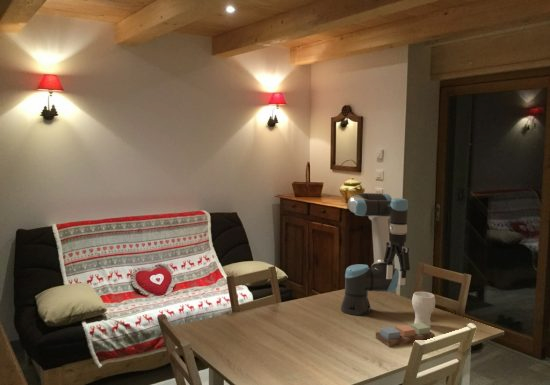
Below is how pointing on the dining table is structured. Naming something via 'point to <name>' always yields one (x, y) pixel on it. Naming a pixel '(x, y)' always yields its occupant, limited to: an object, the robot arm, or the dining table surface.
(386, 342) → the button board
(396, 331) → the cap slate
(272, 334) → the dining table surface
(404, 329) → the cap terracotta
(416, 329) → the cap sage
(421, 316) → the cup
